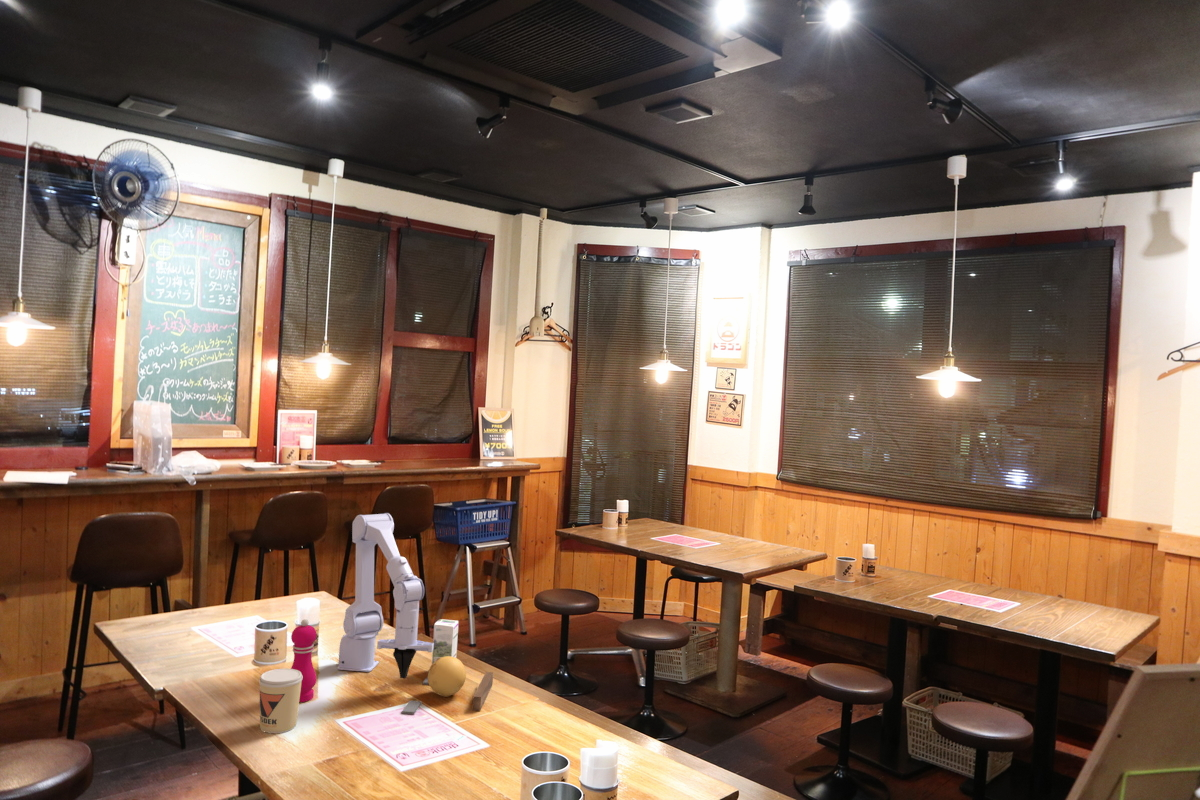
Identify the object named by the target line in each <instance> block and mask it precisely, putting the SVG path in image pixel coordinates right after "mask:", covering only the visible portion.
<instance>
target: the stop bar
mask: <svg viewBox="0 0 1200 800" xmlns="http://www.w3.org/2000/svg"><path fill="white" fill-rule="evenodd" d="M493 683H494V672H491V671H486V672H485V673H484V675H483V677H482V678H481V680H480V682H479V685H478V686H477V688H476V691H475V692H474V694H473V697H472V708H471V709H472V711H473V712H474V711H475V712H477V711H478V712H481V710H482V708H483V706H484V704H485V702H486V699H487V697H488V695H489V693H490V691H491V690H492V687H493Z"/></svg>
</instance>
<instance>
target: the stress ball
mask: <svg viewBox="0 0 1200 800" xmlns="http://www.w3.org/2000/svg"><path fill="white" fill-rule="evenodd" d="M466 670H467V669H466V667H465V665H464V664H463V662H462V661H461V659H459V658H457V657H456V658H455V657H451V656H445V657H440V658H438V659H437V660H436V661H435V662H434V663H433V664H432V663H431V664H430V666H429V670H428V674H427V677H428V684H429V685H428V686H430V689H431V690H432V691H433V692H434V693H436V694H437V695H440V696H441V697H444V698H446V697H447V698H448V697H451V696H452V695H454V694H456V693H458V692H460V691H461V689H462V688H463V687H464V685H465V682H466V679H467V671H466Z"/></svg>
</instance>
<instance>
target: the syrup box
mask: <svg viewBox="0 0 1200 800" xmlns="http://www.w3.org/2000/svg"><path fill="white" fill-rule="evenodd" d="M458 635H459V620H453V619H442V618H441V619H438V620H437V621H435V623H434V625H433V639H432V640H433V642H432V643H434V648H433V651H432V656H431V657H432V658H431V665H432V664H433V663H434V662H435V661H436V660H437V659H438V658H440V657H445V656H451V657H455V658H457V652H458Z"/></svg>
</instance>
